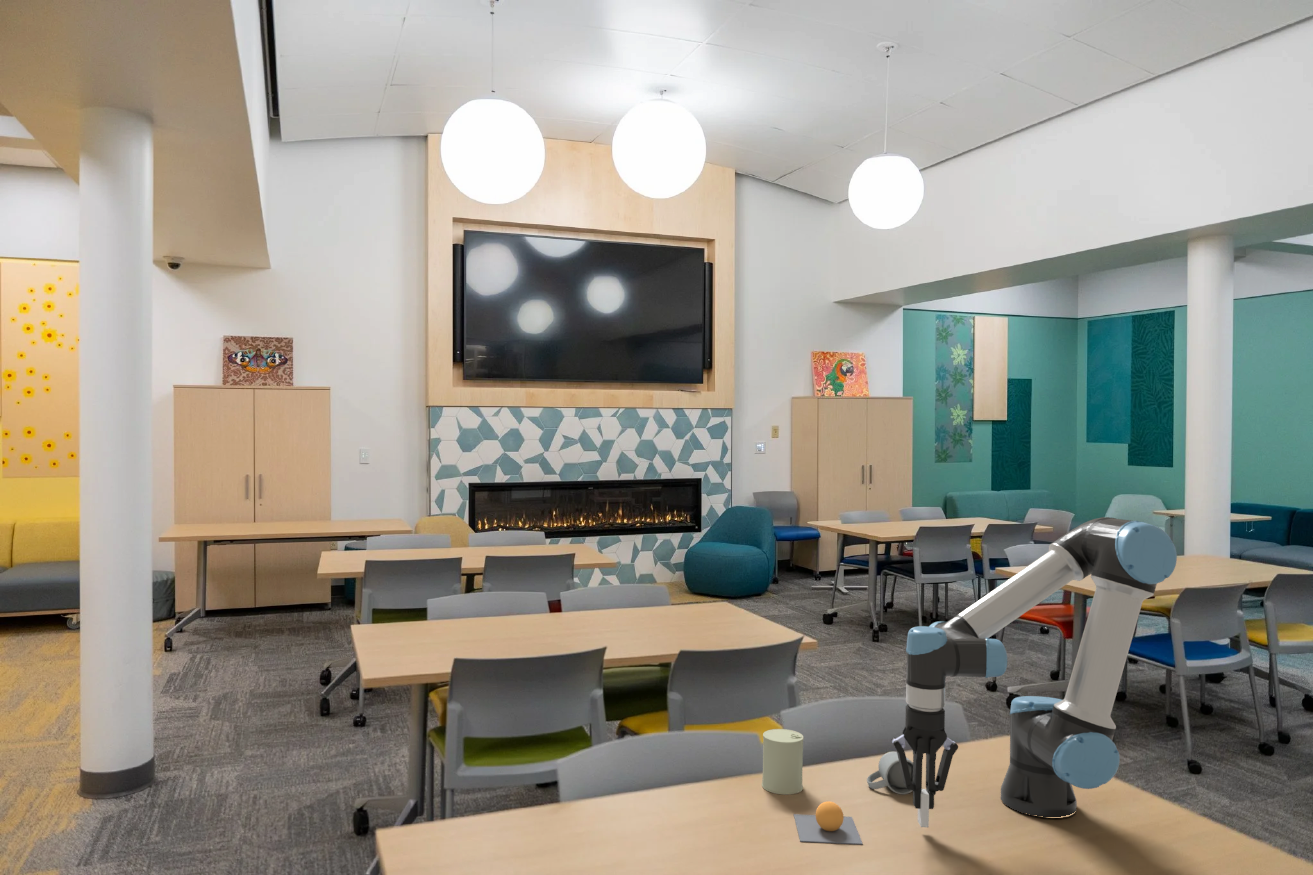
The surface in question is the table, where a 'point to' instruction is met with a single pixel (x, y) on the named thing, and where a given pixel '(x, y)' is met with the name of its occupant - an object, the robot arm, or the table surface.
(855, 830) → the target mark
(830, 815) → the ball
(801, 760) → the can
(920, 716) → the robot arm
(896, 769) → the ceramic mug
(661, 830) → the table surface
